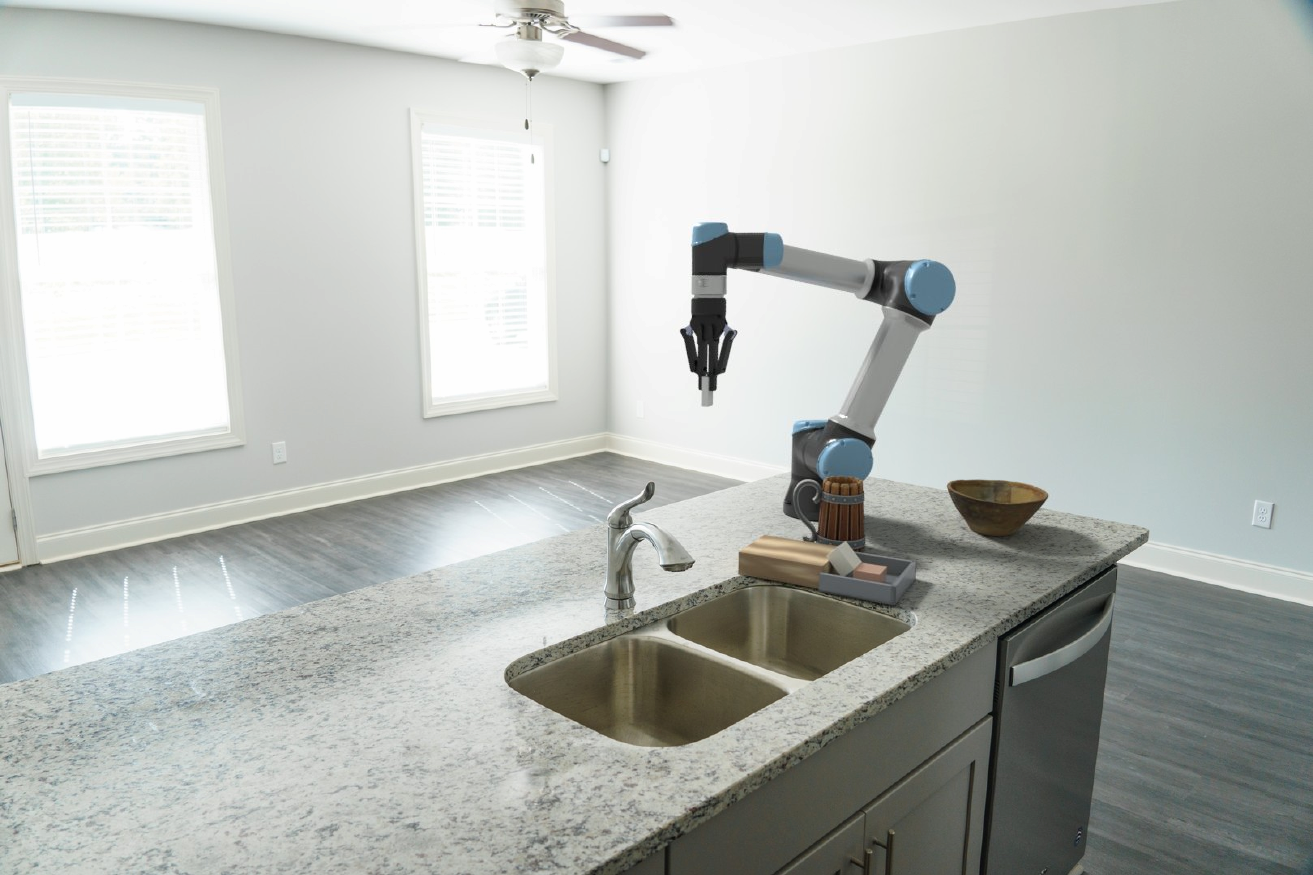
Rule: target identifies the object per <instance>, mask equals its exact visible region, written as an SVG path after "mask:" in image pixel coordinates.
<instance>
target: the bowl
mask: <svg viewBox="0 0 1313 875" xmlns="http://www.w3.org/2000/svg"><path fill="white" fill-rule="evenodd" d="M946 488H947V491H948V494H949V496H950V499H951V501H952V503H953V505H954V507H955V509H956V510H957V511H958V513H959V514H960V515H961V517H962V518H963V520H964V521H965V523H966V524H967V525H968V528H969V529H970V530H971V531H973V532H974V533H978V534H982V535H986V536H992V537H1006V536H1010V535H1011V536H1012V535H1013V534H1014V533H1015V532H1016V531H1018V529H1021V528H1022V527H1023V526H1024V525H1025V524H1026V523H1027V522H1028V521H1029V520H1030V519H1032V518H1033V516H1034V515H1035V514H1036V513H1037V512H1038V511H1039V510H1040V509H1041V508H1042V506H1043V505H1044V504H1045V503H1046V501H1047V500H1048V498H1049V494H1048V492H1047V491H1046V490H1044V489H1042V488H1040V487H1038V486H1034V485H1032V484H1029V483H1025V482H1019V481H1010V480H1002V479H955V480H950V481H949V482H948V483H947V485H946Z"/></svg>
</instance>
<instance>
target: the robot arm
mask: <svg viewBox="0 0 1313 875" xmlns="http://www.w3.org/2000/svg"><path fill="white" fill-rule="evenodd" d="M690 245H691V246H690V247H691V290H690V292H691V295H693V296H694V297H692V298H691V300H690V302H691V304H690V305H691V306H690V308H691V309H690V313H691V318H690V320H689V324H688V325H687V326H686V327H683V328H680V329H679V332H680V335H681V337H682V338H683V341H684V347H685V351H686V352H685V353H686V356H687V362H688V366H689V367H688V368H689V371H690V372H691V373H694V374H696V375H697V378H698V380H697V388H698V390H699V391H701V404H700V405H701V406H700V407H705V408H707V407H711V406H713V405H714V392H716V391H717V389H718V376H719V375H722V374H725V373H726V370H727V366H728V362H729V359H730V354H731V350H732V347H733V342H734V340H735V338H736V337H737V335H738V330H736V329H733V328H731V327H730V326H729V325H728V324H729V323H728V321H727V318H726V316H727V298H726V297H724V296H726V295H727V294H728V293H727V292H728V291H727V290H728V289H727V285H728V284H727V283H728V282H727V281H728V280H727V279H728V278H727V276H728V274H727V272H728V269H733V270H743V271H747V272H753V273H759V274H762V275H767V276H772V277H777V278H782V279H786V280H789V281H794V282H799V283H804V284H810V285H814V286H818V287H823V288H827V289H832V290H837V291H841V292H846V293H851V294H854V295H855V297H856V299H859V300H862V301H867V302H870V303H874V304H876V305H879V306H881V311H882V314H883V319H882V321H881V324H880V325H879V327H878V330H877V332H876V334H875V336H874V339H873V340H872V342H871V344H870V347H869V348H868V351H867V353H866V355H865V357H864V359H863V361H862V364H861V366H860V368H859V370H858V373H857V374H856V377H855V378H854V380H853V383H852V385H851V387H850V389H849V391H848V393H847V396H846V397H845V400H844V402H843V404H842V406H841V408H840V410H839V412H838V414H835V415H833V416H830V417H829V418H828V419H805V420H802V419H801V420H797V421H795V422H794V424H793V426H792V433H791V438H792V439H791V469H790V470H791V471H790V472H791V474H790V483H789V485H788V488H787V490H786V494H785V497H784V499H783V502H782V512H783V513H784V514H785V515H787V516H789V517H791V518H792V517H793V518H796V519H800V518H799V517H798V515H797V513H796V511H795V507H794V501H793V493H794V490H795V487H796V486H797V484H798V483H799V482H801V481H802V480H806V479H811V480H814V481H816V482H817V483H818V484H819V485H820V487H821V490H822V488H823V481H824V479H825V478H826V477H831V476H836V477H838V476H845V478H847V476H850V477H853V478H859V479H860V480H862V482H863V483H864V481H865V480H866V479H867V478H868V477H869V475H870V474H871V472H872V470H873V467H874V457H873V452H872V450H873V448H874V446H875V444H876V442H877V436H876V434H875V427H876V425H877V423H878V421H879V419H880V417H881V415H882V414H883V413H882V412H883V411H884V409H885V406H886V404H887V402H888V401H889V398H890V397H891V394H892V393H893V391H894V388H895V386H896V384H897V381H898V379H899V377H900V376H901V374H902V372H903V369H904V367H905V365H906V363H907V361H908V359H909V356H910V354H911V353H912V350H913V348H914V346H915V344H916V342H917V340H918V338H919V335H920V334H921V333H922V332H925V331H928V330H930V329H931V327H932V325H933V322H934V320H935V319H936V317H937V315H940V314H942V313H943V312H945V311H947V310H948V309H949V308H950V306H951V304H952V303H953V302H954V300H955V296H956V289H957V286H956V284H957V283H956V280H955V279H954V278H955V277H954V275H953V273H952V271H951V270H950V268H948V266H946V264H944V263H942V262H939V261H937V260H931V259H928V258H925V259H919V260H917V259H916V260H914V259H913V260H912V259H911V260H909V259H908V260H905V259H903V260H901V259H900V260H879V259H873V258H865V259H863V261H862V260H857V259H852V258H847V257H843V256H838V255H833V254H829V253H824V252H821V251H815V250H810V249H806V248H801V247H798V246H794V245H788V244H784V241H783V237H782V236H781V235H780V234H779V233H777V232H776V233H775V232H767V231H765V232H733V231H729V226H728V224H727V223H726V222H719V221H716V222H715V221H705V222H697V223H695V224H694V225H693V226H692V236H691V244H690ZM693 334H694V335H695V336H696V342H695V338H694V335H693ZM722 334H723V337H724V338H723V340H722V342H721V346H720V348H721V349H720V352H719V345H720V337H721V336H722ZM696 344H697V348H696ZM816 494H817V489H816V488H815V487H813V486H810V485H807V486H804V487H803V488H802V489H801V490H800V492H799V495H798V503H799V508H800V510H801V512H802V514H803V515H804V516H805V517H806V518H807V519H808V520H809V521H819V514H820V505H821V499H820V501H819V502H818V503H817V504H816V503H815V502H814V501H813V498H814V497H815V496H816Z"/></svg>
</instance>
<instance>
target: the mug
mask: <svg viewBox="0 0 1313 875" xmlns="http://www.w3.org/2000/svg"><path fill="white" fill-rule="evenodd" d="M807 485H810V486H813V487H815V488H816V489H817V494H816V496H815V497H814V498H813V501H814V502H815V503H816V504H817V503H818V502H819V501H820V499H821V505H820V514H819V520H818V521H817V522H818V524H817V529H816V527H815V526H814V524H813V523H812V522H811V520H808V519H807V518H806V517H805V516H804V515H803V514H802V512H801V510H800V508H799V503H798V495H799V492H800V490H801V489H802V488H803V487H804V486H807ZM793 501H794V507H795V511H796V513H797V515H798V517H799V518H798V519H799V521H801V522H802V524H804V525H805V526H806V527H807V528H808V529H809V531H810V532H811V536H810V537H808V534H802V541H807V542H813V543H819V544H826V545H832V546H839V545H841V544H842V543H843V542H845V541H846V542H847V543H848V545H849V546H850V547H851V548H852V550H853V551H854V552H861V553H862V552H863V551H864V550H865V548H866V534H865V491H864V481H863V482H862V480H860V479H859V478H853V477H850V476H847V478H845V476H838V477H836V476H831V477H826V478H825V479H824V481H823V488H822V490H821V487H820V485H819V484H818V483H817V482H816V481H814V480H811V479H806V480H802V481H801V482H799V483H798V484H797V486H796V487H795V490H794V493H793Z"/></svg>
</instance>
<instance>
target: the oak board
mask: <svg viewBox="0 0 1313 875" xmlns="http://www.w3.org/2000/svg"><path fill="white" fill-rule="evenodd" d="M836 547H838V546H832V545H826V544H819V543H816V542H814V543H813V542H807V541H803V540H799V539H794V538H793V539H792V538H788V537H787V538H786V537H783V536H782V537H781V536H774V535H768V534H763V535H762V536H760V537H759V538H757V539H756V540H754V541H753V542H751V543H749V544H748V545H747V546H746V547H744V548H742V549H741V550H740V551H738V568H737V569H738V572H737V573H738V575H743V576H748V577H749V576H750V577H755V578H759V579H765V580H770V581H775V582H781V583H787V584H790V585H791V584H792V585H797V586H802V587H807V588H808V587H809V588H814V589H818V590H819V578H820V573H821V572H822V573H827V574H833V575H835V574H836V573H837V570H836V569H835V568H834V566H833V565H832V564H831V562H830V561H829V560H828V558H827V557H826V556H827V555H828V554H829V553H830V552H831V551H832V550H834V549H835V548H836Z"/></svg>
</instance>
